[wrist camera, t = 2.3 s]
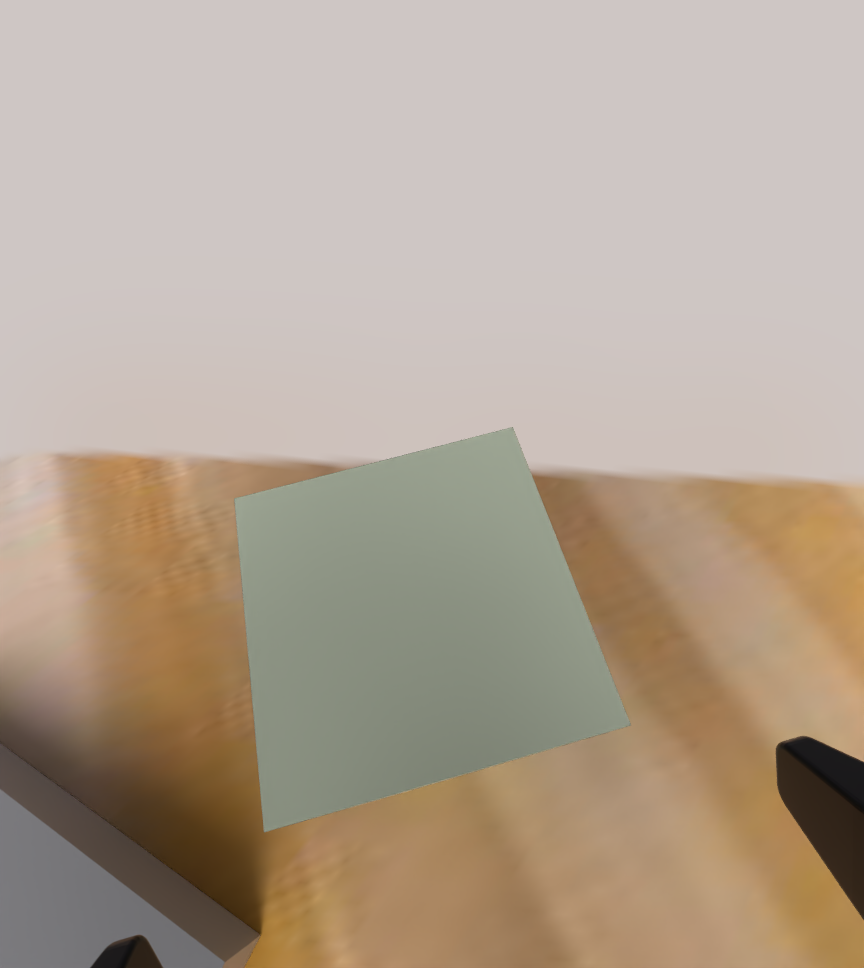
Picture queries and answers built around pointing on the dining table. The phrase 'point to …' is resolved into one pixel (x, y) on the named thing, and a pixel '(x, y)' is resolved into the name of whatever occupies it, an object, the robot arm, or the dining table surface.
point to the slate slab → (95, 887)
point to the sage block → (411, 628)
